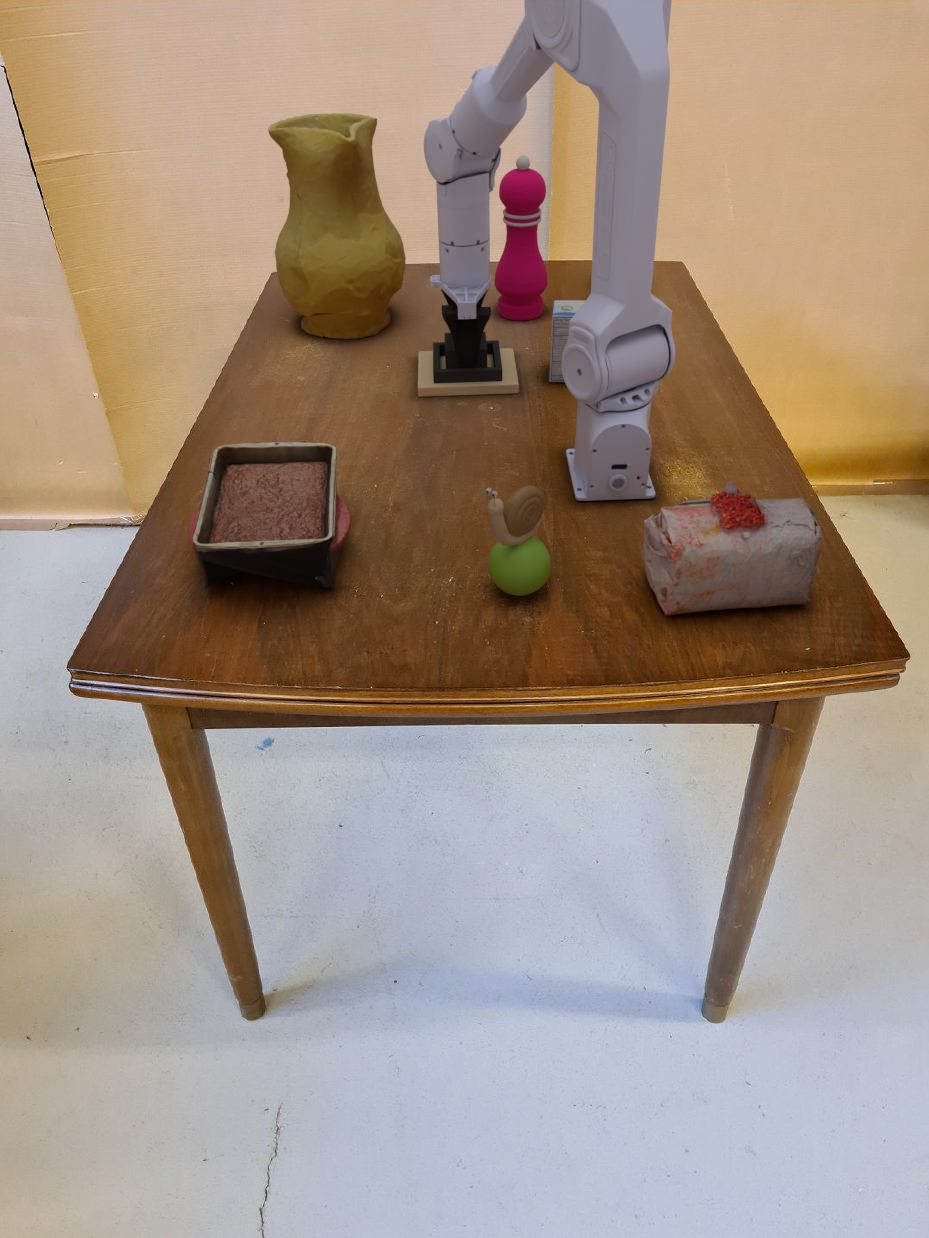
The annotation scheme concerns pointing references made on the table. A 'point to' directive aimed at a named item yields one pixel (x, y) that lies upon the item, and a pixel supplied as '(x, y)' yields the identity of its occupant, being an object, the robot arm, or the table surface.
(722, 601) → the food item
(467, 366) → the black block
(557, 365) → the medicine box
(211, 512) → the baking dish
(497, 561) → the snail figurine
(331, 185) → the pitcher
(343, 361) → the table surface
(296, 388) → the table surface
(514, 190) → the pepper mill
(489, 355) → the base pad
